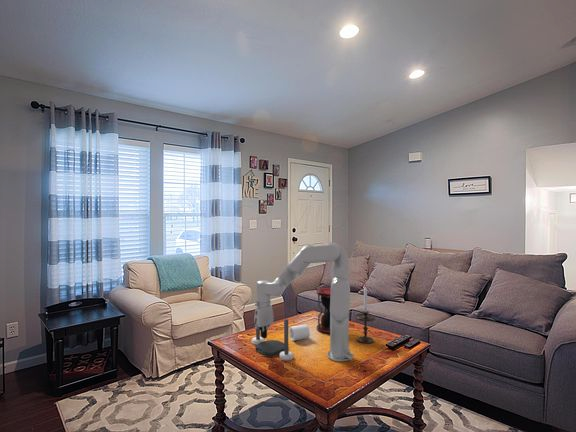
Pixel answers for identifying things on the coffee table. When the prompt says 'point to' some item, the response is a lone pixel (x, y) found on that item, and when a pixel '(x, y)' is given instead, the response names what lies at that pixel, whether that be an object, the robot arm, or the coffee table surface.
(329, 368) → the coffee table surface
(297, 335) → the mug
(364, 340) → the candlestick
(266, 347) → the media streaming box
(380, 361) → the coffee table surface
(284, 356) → the post
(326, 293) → the hourglass
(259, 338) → the far cord post
